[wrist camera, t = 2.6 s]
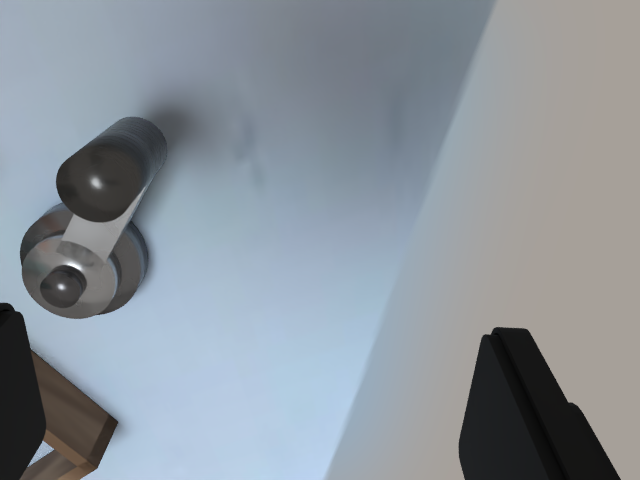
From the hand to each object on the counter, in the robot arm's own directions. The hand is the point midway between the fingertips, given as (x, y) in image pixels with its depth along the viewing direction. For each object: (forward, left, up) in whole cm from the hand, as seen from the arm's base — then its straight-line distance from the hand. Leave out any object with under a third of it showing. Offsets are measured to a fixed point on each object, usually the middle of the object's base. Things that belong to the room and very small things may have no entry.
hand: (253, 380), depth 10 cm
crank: (+10, -3, -16) cm, 19 cm away
